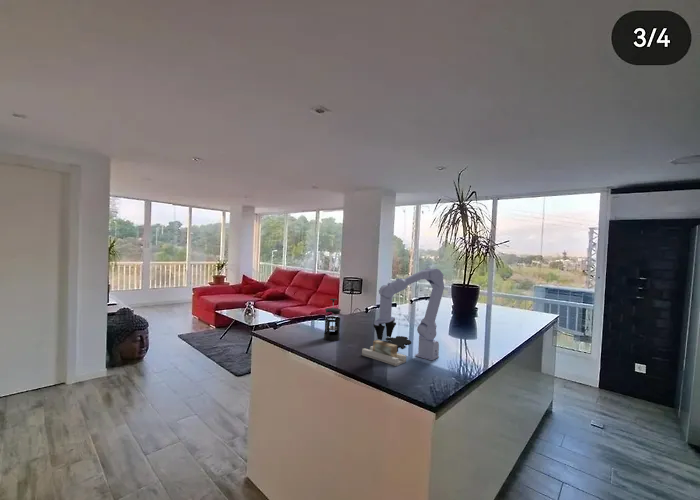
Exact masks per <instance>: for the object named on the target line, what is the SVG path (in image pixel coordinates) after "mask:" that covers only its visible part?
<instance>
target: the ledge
mask: <svg viewBox="0 0 700 500" xmlns="http://www.w3.org/2000/svg"><path fill="white" fill-rule="evenodd" d="M361 349H362V350H361V356H363V357H367V358H369V359H373V360H375V361H379V362H381V363H382V362H383V363H385V364H388V365H391V366H393V367H394V366H395V367H397V366H400V365H402V364H404V363H406V362H407V355H405V354H402V353H398V352H397V358H395V357H392V356H389V355H385V354H382V353H379V352H376V351H373V345H371V346H370V347H369V349H368V348H361Z"/></svg>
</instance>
